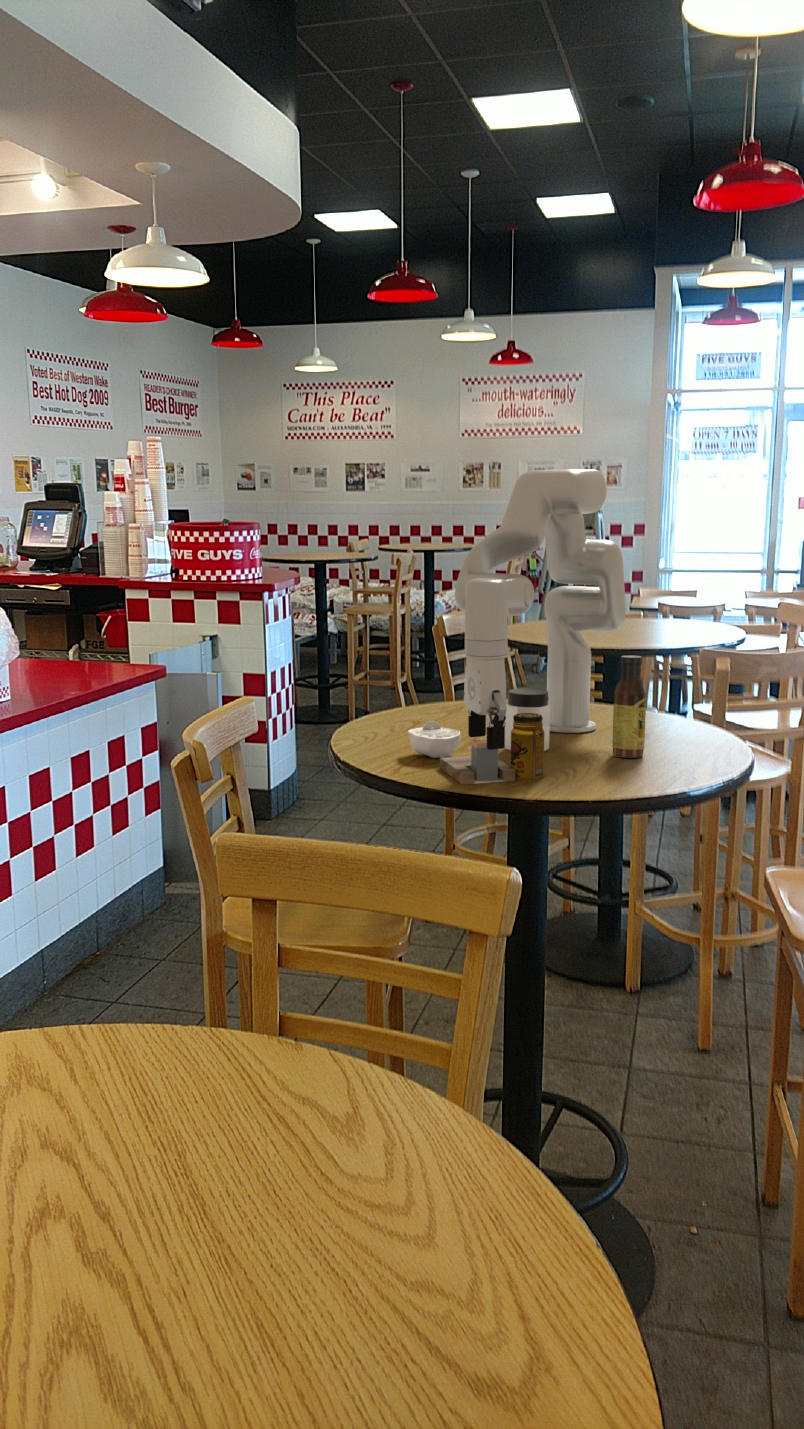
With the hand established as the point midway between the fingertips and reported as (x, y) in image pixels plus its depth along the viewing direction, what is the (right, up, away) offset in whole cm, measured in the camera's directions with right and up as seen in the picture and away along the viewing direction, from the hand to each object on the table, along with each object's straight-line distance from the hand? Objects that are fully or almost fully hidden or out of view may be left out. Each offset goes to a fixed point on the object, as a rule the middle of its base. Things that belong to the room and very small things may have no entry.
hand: (486, 742), depth 192 cm
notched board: (-1, -6, +4) cm, 7 cm away
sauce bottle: (+30, -3, +19) cm, 36 cm away
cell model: (-9, -4, +19) cm, 21 cm away
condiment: (+8, -7, +3) cm, 11 cm away
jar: (+10, -2, +25) cm, 27 cm away
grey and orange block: (0, -6, +1) cm, 6 cm away
